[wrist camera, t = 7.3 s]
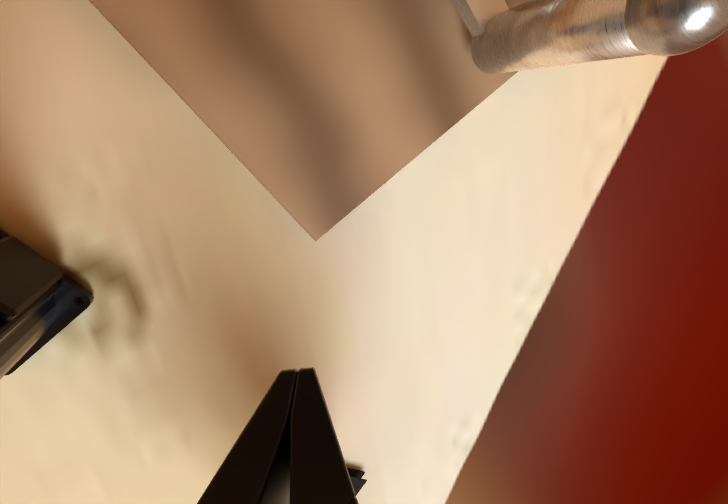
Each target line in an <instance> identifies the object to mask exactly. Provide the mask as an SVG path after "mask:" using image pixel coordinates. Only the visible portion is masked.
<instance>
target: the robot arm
mask: <svg viewBox="0 0 728 504" xmlns="http://www.w3.org/2000/svg"><path fill="white" fill-rule="evenodd" d="M77 297H81V298H83V299H84V300H85V302H81V301H79V300H78V299H77ZM93 298H94V297H93V295H92V294H91V293H90V292H89V291H88V290H87V289H85V288H84V287H82V286H81V285H79V284H78V283H77V282H75V281H74V280H72V279H71V278H69V277H68V276H66V275H65V274H64V273H62V271H61V270H60V269H59V268H57V267H56V266H55V265H53V264H52V263H50V262H49V261H47V260H46V259H45V258H43V257H42V256H40V255H39V254H37V253H36V252H35V251H33V250H32V249H30V248H29V247H27V246H26V245H25V244H23V243H22V242H20V241H19V240H17V239H16V238H14V237H11V236H9V235H8V234H6V233H5V232H3V231H2V230H1V229H0V379H1V378H2V377H3V376H4V375H9V374H11V373H13V372H14V371H15V370H16V369H17V368H18V367H19V366H21V365H22V364H23V363H24V362H25V361H26V360H28V359H29V358H30V357H31V356H32V355H33V354H35V353H36V352H37V351H38V350H39V349H40V348H41V347H43V346H44V345H45V344H46V343H47V342H48V341H50V340H51V339H52V338H53V337H54V336H55V335H56V334H58V333H59V332H60V331H61V330H62V329H63V328H65V327H66V326H67V325H68V324H69V323H70V322H72V321H73V320H74V319H75V318H76V317H77V316H78V315H80V314H81V313H82V312H83V311H84V310H85V309H87V308H88V307H89V306H90V304H91V303H92V302H93ZM197 504H359V503H358V500H357V498H356V495H355V492H354V489H353V485H352V482H351V479H350V476H349V473H348V470H347V467H346V464H345V461H344V458H343V455H342V451H341V448H340V445H339V442H338V439H337V436H336V433H335V430H334V427H333V424H332V421H331V417H330V414H329V411H328V408H327V405H326V402H325V399H324V396H323V393H322V390H321V387H320V383H319V380H318V377H317V374H316V371H315V369H314V368H301V369H299V370H297V369H289V370H282V371H281V372H280V373H279V374H278V376H277V378H276V379H275V381H274V382H273V384H272V385H271V387H270V389H269V390H268V392H267V393H266V395H265V397H264V398H263V400H262V401H261V403H260V405H259V406H258V408H257V409H256V411H255V412H254V414H253V416H252V417H251V419H250V420H249V422H248V424H247V425H246V427H245V428H244V430H243V431H242V433H241V435H240V436H239V438H238V439H237V441H236V443H235V444H234V446H233V447H232V449H231V451H230V452H229V454H228V455H227V457H226V458H225V460H224V462H223V463H222V465H221V466H220V468H219V470H218V471H217V473H216V474H215V476H214V477H213V479H212V481H211V482H210V484H209V485H208V487H207V489H206V490H205V492H204V493H203V495H202V497H201V498H200V500H199V501H198V503H197Z"/></svg>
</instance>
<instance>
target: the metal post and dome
mask: <svg viewBox="0 0 728 504" xmlns="http://www.w3.org/2000/svg"><path fill="white" fill-rule="evenodd" d="M452 2H453V4H454V5H455V7H456V9H457V11H458V12H459V14H460V16H461V18H462V20H463V21H464V23H465V25H466V27H467V28H468V30H469V32H470V34H471V36H472V41H471V55H472V59H473V61H474V63H475V65H476V66H477V67H478V69H480V70H481V71H482V72H484V73H487V74H498V73H506V72H513V71H521V70H529V69H537V68H545V67H553V66H561V65H569V64H576V63H584V62H592V61H600V60H608V59H616V58H624V57H632V56H639V55H647V54H651V55H657V56H672V55H678V54H683V53H686V52H689V51H692V50H695V49H697V48H699V47H701V46H703V45H705V44H707V43H709V42H710V41H712V40H713V39H715V38H717V37H718V36H719V35H721V34H722V33H723V32H724V31H726V30H727V29H728V0H530V1H528V2H525V3H523V4H520V5H517V6H515V7H512V8H510V9H509V8H508V6H507V4H506V2H505V0H452Z"/></svg>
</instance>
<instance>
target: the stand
mask: <svg viewBox="0 0 728 504" xmlns="http://www.w3.org/2000/svg"><path fill="white" fill-rule="evenodd" d="M89 1H90V2H91V3H92V4H93V5H94V6H95V7H96V8H97V9H98V10H99V11H100V12H101V14H102V15H103V16H104V17H105V18H106V19H107V20H108V21H109V22H110V23H111V24H112V25H113V26H114V27H115V28H116V29H117V31H118V32H119V33H120V34H121V35H122V36H123V37H124V38H125V39H126V40H127V41H128V42H129V43H130V44H131V45H132V47H133V48H134V49H135V50H136V51H137V52H138V53H139V54H140V55H141V56H142V57H143V58H144V59H145V60H146V61H147V62H148V64H149V65H150V66H151V67H152V68H153V69H154V70H155V71H156V72H157V73H158V74H159V75H160V76H161V77H162V78H163V79H164V81H165V82H166V83H167V84H168V85H169V86H170V87H171V88H172V89H173V90H174V91H175V92H176V93H177V94H178V95H179V97H180V98H181V99H182V100H183V101H184V102H185V103H186V104H187V105H188V106H189V107H190V108H191V109H192V110H193V111H194V112H195V114H196V115H197V116H198V117H199V118H200V119H201V120H202V121H203V122H204V123H205V124H206V125H207V126H208V127H209V128H210V130H211V131H212V132H213V133H214V134H215V135H216V136H217V137H218V138H219V139H220V140H221V141H222V142H223V143H224V144H225V145H226V147H227V148H228V149H229V150H230V151H231V152H232V153H233V154H234V155H235V156H236V157H237V158H238V159H239V160H240V161H241V163H242V164H243V165H244V166H245V167H246V168H247V169H248V170H249V171H250V172H251V173H252V174H253V175H254V176H255V177H256V178H257V180H258V181H259V182H260V183H261V184H262V185H263V186H264V187H265V188H266V189H267V190H268V191H269V192H270V193H271V194H272V195H273V197H274V198H275V199H276V200H277V201H278V202H279V203H280V204H281V205H282V206H283V207H284V208H285V209H286V210H287V211H288V213H289V214H290V215H291V216H292V217H293V218H294V219H295V220H296V221H297V222H298V223H299V224H300V225H301V226H302V227H303V228H304V230H305V231H306V232H307V233H308V234H309V235H310V236H311V237H312V238H313V239H314V240H315V241H316V240H318V239H319V238H320V237H321V236H322V235H324V234H325V233H326V232H327V231H328V230H330V229H331V228H332V227H333V226H334V225H336V224H337V223H338V222H339V221H340V220H342V219H343V218H344V217H345V216H346V215H347V214H349V213H350V212H351V211H352V210H353V209H355V208H356V207H357V206H358V205H359V204H361V203H362V202H363V201H364V200H365V199H367V198H368V197H369V196H370V195H371V194H372V193H374V192H375V191H376V190H377V189H378V188H380V187H381V186H382V185H383V184H384V183H386V182H387V181H388V180H389V179H390V178H392V177H393V176H394V175H395V174H396V173H398V172H399V171H400V170H401V169H402V168H403V167H405V166H406V165H407V164H408V163H409V162H411V161H412V160H413V159H414V158H415V157H417V156H418V155H419V154H420V153H421V152H423V151H424V150H425V149H426V148H427V147H428V146H430V145H431V144H432V143H433V142H434V141H436V140H437V139H438V138H439V137H440V136H442V135H443V134H444V133H445V132H446V131H448V130H449V129H450V128H451V127H452V126H454V125H455V124H456V123H457V122H458V121H459V120H461V119H462V118H463V117H464V116H465V115H467V114H468V113H469V112H470V111H471V110H473V109H474V108H475V107H476V106H477V105H479V104H480V103H481V102H482V101H483V100H484V99H486V98H487V97H488V96H489V95H490V94H492V93H493V92H494V91H495V90H496V89H498V88H499V87H500V86H501V85H502V84H504V83H505V82H506V81H507V80H508V79H510V78H511V77H512V76H513V75H514V74H515V73H517V72H518V71H513V72H506V73H498V74H487V73H484V72H482V71H481V70H480V69H478V67H477V66H476V65H475V63H474V61H473V59H472V55H471V41H472V36H471V34H470V32H469V30H468V28H467V27H466V25H465V23H464V21H463V20H462V18H461V16H460V14H459V12H458V11H457V9H456V7H455V5H454V4H453V2H452V0H89ZM528 1H530V0H505V2H506V4H507V6H508V8H509V9H510V8H512V7H515V6H517V5H520V4H523V3H525V2H528Z"/></svg>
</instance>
